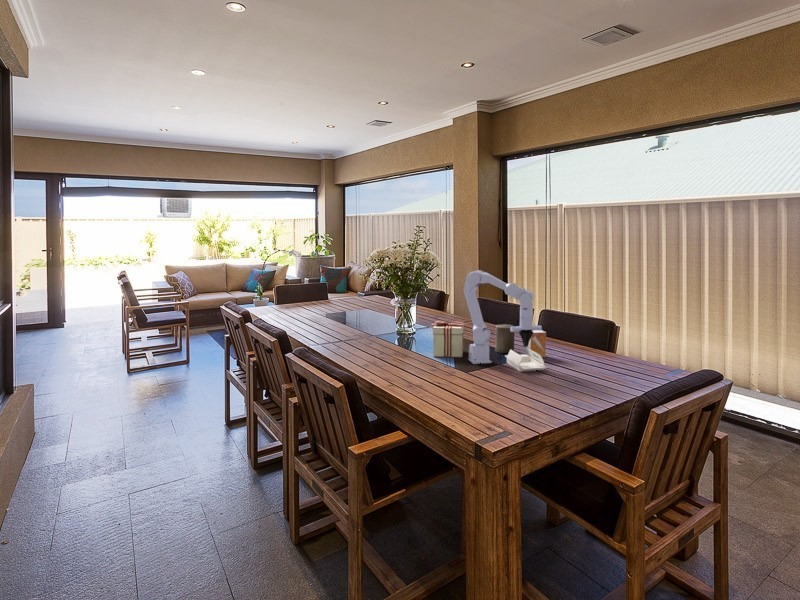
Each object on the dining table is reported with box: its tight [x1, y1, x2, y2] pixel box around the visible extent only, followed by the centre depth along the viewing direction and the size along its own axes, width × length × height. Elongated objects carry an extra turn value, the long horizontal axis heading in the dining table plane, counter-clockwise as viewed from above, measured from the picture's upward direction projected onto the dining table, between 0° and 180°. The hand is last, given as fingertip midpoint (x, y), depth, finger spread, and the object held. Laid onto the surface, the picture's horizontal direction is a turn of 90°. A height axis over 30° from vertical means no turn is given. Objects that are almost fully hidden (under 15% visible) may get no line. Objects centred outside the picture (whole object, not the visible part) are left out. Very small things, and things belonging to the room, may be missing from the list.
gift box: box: [430, 320, 465, 358], centre depth 244 cm, size 17×18×17 cm
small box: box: [524, 329, 547, 358], centre depth 235 cm, size 8×6×13 cm
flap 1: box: [506, 349, 523, 366], centre depth 218 cm, size 4×14×1 cm
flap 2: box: [528, 349, 545, 365], centre depth 220 cm, size 4×14×1 cm
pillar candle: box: [494, 323, 515, 354], centre depth 246 cm, size 10×10×15 cm
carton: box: [504, 353, 549, 373], centre depth 219 cm, size 12×23×2 cm, turn 9°
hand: (525, 346), depth 218 cm, fingers closed
